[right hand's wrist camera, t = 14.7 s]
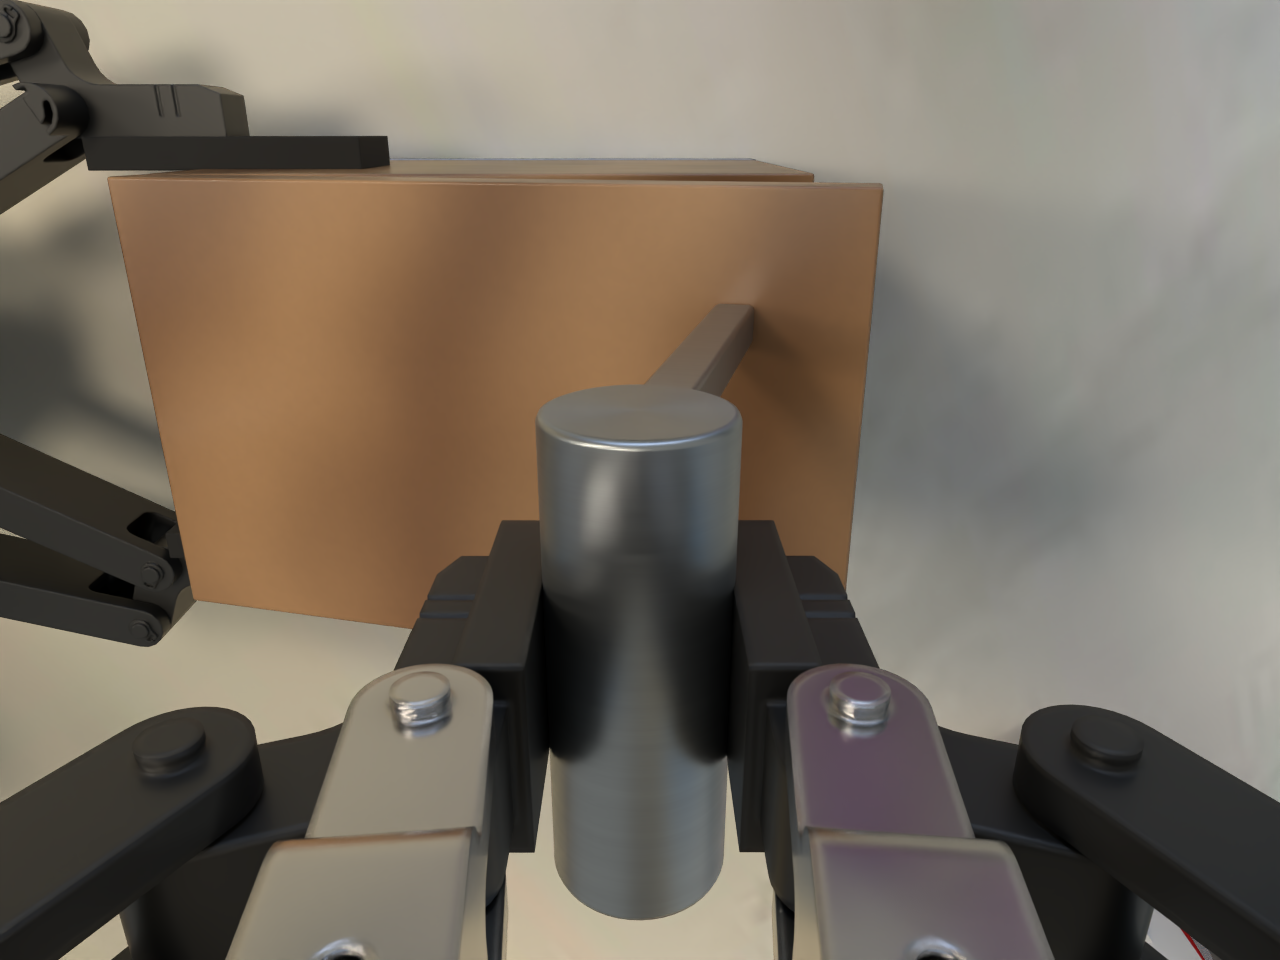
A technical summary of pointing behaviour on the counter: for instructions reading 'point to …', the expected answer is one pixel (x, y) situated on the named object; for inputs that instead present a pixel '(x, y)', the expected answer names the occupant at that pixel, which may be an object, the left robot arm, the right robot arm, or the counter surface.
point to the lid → (520, 436)
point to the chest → (552, 170)
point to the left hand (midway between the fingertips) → (395, 352)
